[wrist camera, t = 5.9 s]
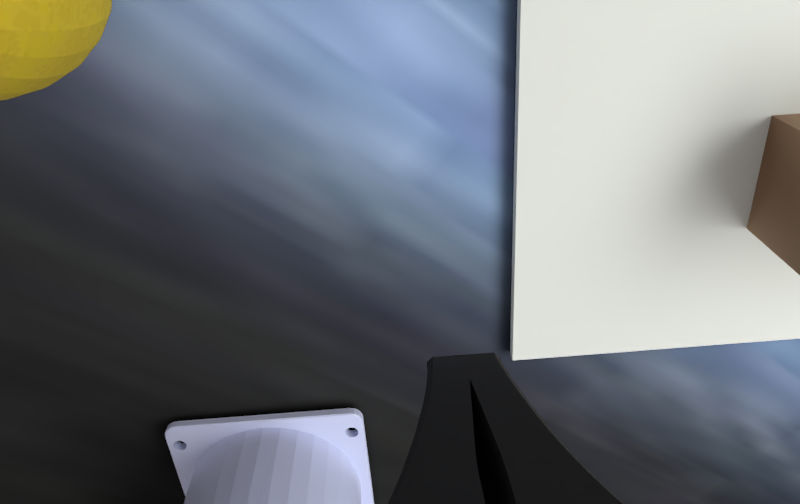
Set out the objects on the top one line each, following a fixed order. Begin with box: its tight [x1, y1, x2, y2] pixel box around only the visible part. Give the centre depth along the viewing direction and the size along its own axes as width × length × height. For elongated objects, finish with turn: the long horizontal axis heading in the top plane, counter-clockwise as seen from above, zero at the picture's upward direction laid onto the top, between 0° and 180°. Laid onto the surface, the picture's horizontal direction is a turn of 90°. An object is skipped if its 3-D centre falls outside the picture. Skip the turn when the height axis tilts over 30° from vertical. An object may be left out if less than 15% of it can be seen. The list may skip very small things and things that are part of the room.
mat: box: [510, 0, 800, 360], centre depth 21 cm, size 14×18×1 cm
